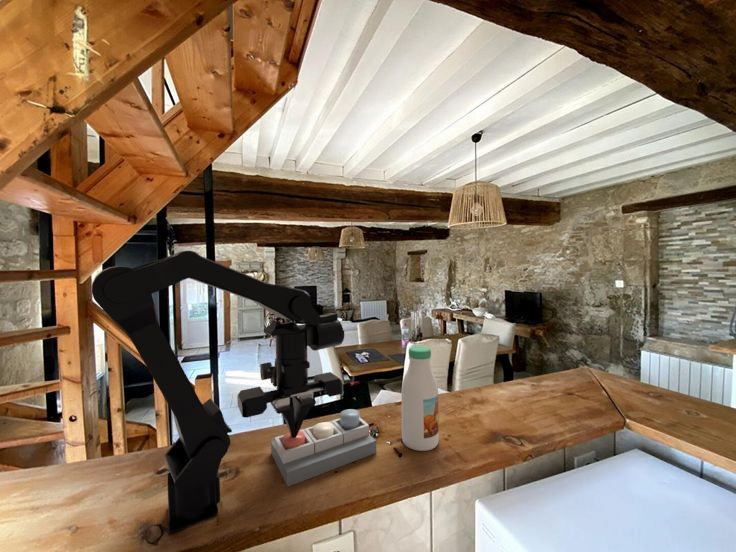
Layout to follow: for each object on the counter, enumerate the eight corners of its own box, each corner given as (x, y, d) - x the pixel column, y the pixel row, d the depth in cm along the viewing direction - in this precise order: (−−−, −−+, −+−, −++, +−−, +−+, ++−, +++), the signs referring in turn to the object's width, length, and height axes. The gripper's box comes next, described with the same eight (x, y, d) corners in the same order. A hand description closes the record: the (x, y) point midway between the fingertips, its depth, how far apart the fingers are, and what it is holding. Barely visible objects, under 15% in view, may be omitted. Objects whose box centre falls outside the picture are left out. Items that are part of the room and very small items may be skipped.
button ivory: (317, 447, 60) (317, 434, 60) (310, 437, 64) (310, 425, 64) (336, 441, 62) (336, 429, 62) (328, 432, 66) (328, 420, 66)
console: (287, 486, 54) (286, 461, 54) (271, 453, 63) (270, 431, 63) (376, 452, 63) (376, 430, 63) (350, 428, 73) (350, 408, 72)
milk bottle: (410, 455, 62) (409, 355, 61) (396, 434, 70) (395, 345, 69) (445, 448, 64) (445, 351, 63) (428, 429, 72) (428, 342, 71)
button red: (286, 457, 57) (286, 444, 57) (280, 446, 61) (280, 434, 61) (307, 450, 59) (307, 437, 59) (300, 440, 63) (300, 428, 63)
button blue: (345, 432, 63) (345, 420, 63) (337, 423, 67) (337, 412, 67) (363, 426, 65) (362, 415, 65) (353, 418, 69) (353, 407, 69)
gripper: (321, 339, 71) (322, 407, 72) (231, 352, 61) (234, 431, 62) (343, 351, 61) (345, 429, 62) (241, 369, 52) (244, 461, 52)
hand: (293, 436), depth 60 cm, fingers closed, pressing on button red
